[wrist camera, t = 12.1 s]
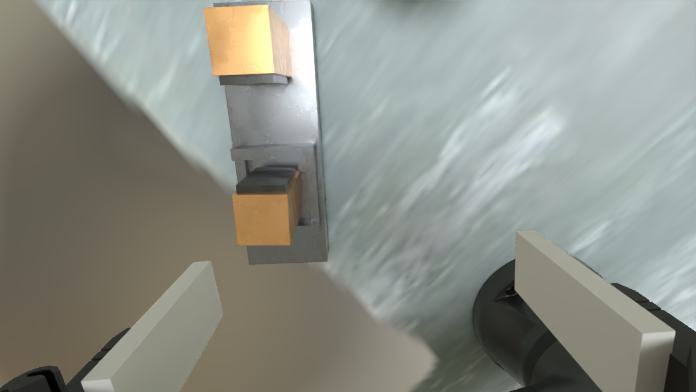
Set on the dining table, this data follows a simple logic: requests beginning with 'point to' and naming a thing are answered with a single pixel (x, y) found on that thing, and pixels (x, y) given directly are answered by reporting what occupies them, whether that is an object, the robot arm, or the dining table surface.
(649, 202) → the dining table surface
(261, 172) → the orange and grey block
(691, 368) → the robot arm
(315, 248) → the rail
